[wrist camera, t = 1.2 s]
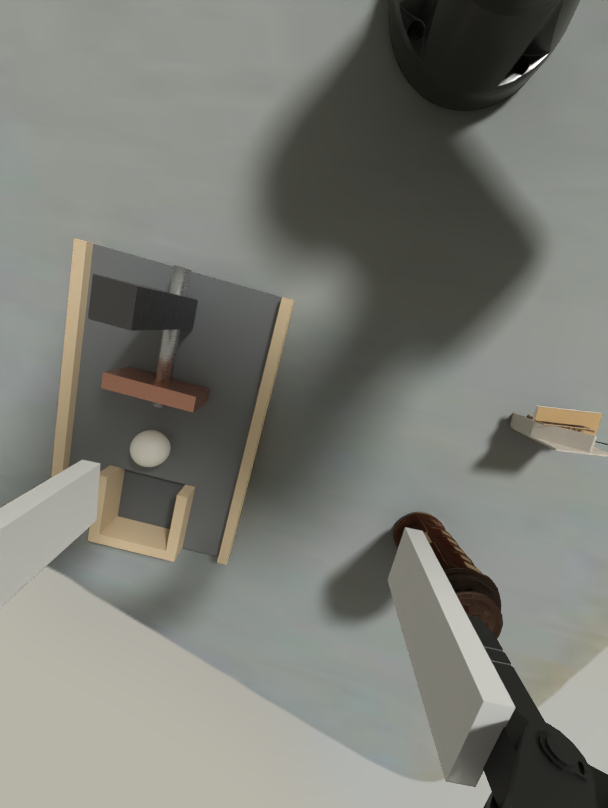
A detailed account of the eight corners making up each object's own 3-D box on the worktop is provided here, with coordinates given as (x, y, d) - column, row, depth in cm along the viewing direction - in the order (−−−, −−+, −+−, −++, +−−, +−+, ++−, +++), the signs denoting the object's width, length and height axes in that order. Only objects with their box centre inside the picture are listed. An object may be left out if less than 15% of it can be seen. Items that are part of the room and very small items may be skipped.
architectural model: (514, 398, 37) (563, 415, 30) (574, 405, 37) (637, 424, 30) (507, 426, 38) (552, 450, 31) (565, 433, 38) (625, 458, 31)
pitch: (91, 244, 34) (62, 233, 30) (294, 302, 35) (292, 299, 31) (62, 509, 41) (36, 528, 38) (231, 551, 42) (223, 574, 38)
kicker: (143, 258, 33) (50, 220, 21) (231, 283, 33) (188, 259, 21) (124, 391, 36) (34, 422, 24) (204, 412, 36) (154, 453, 25)
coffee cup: (378, 560, 42) (408, 660, 30) (384, 502, 40) (418, 583, 28) (446, 563, 42) (505, 665, 30) (455, 505, 40) (522, 588, 28)
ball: (144, 421, 37) (124, 432, 33) (179, 430, 37) (163, 442, 33) (139, 453, 38) (119, 468, 34) (173, 462, 38) (157, 477, 34)
